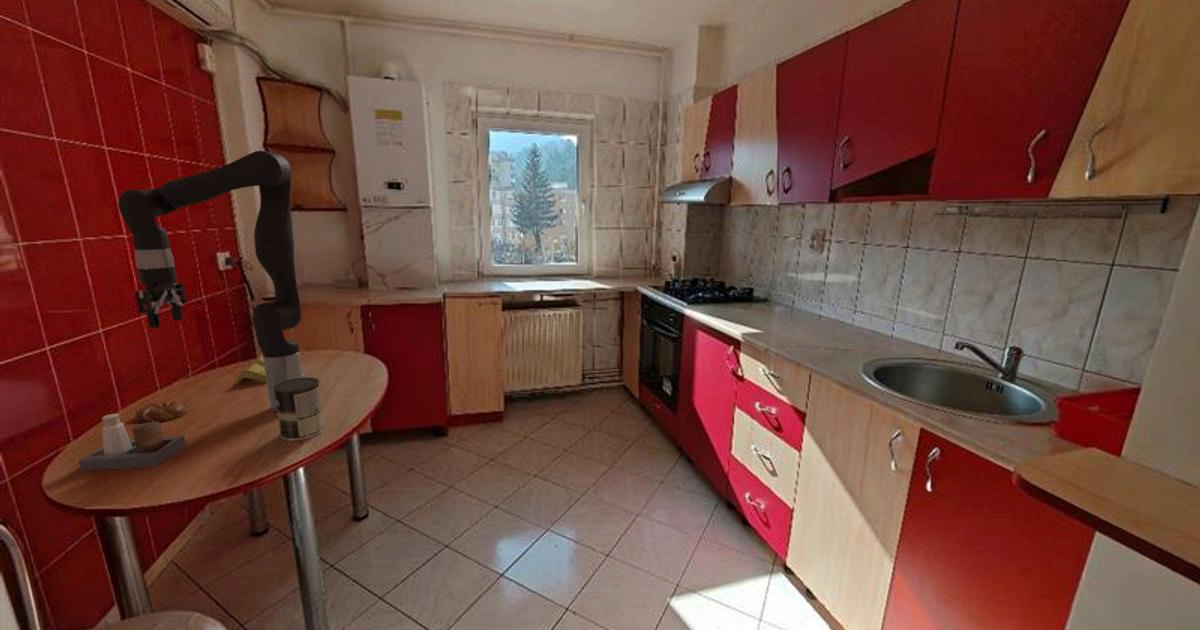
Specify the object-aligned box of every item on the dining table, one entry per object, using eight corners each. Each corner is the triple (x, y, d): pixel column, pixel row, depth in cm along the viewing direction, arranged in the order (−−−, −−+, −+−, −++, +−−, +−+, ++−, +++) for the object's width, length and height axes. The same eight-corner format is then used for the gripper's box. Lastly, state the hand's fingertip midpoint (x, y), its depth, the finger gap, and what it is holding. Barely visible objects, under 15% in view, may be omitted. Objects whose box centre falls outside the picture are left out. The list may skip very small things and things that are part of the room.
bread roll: (199, 410, 141) (197, 398, 140) (164, 426, 131) (162, 414, 130) (161, 408, 142) (159, 397, 141) (124, 424, 131) (121, 412, 130)
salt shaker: (129, 461, 110) (119, 418, 108) (98, 466, 108) (88, 422, 105) (140, 450, 115) (131, 409, 112) (110, 455, 113) (100, 413, 110)
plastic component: (272, 377, 162) (239, 367, 158) (264, 395, 163) (231, 386, 159) (289, 356, 180) (260, 347, 176) (282, 372, 181) (253, 364, 177)
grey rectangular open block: (186, 448, 118) (184, 435, 117) (156, 469, 108) (153, 455, 108) (118, 452, 116) (115, 439, 115) (81, 474, 106) (78, 460, 105)
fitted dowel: (171, 450, 115) (165, 421, 113) (156, 460, 110) (149, 430, 109) (149, 452, 114) (142, 422, 112) (133, 462, 110) (126, 431, 108)
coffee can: (276, 444, 121) (268, 393, 117) (285, 427, 130) (278, 380, 127) (322, 437, 125) (315, 387, 121) (327, 421, 134) (321, 375, 131)
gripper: (160, 263, 132) (170, 318, 136) (118, 269, 119) (131, 330, 122) (189, 262, 133) (199, 317, 137) (151, 268, 120) (163, 329, 123)
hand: (167, 323), depth 130 cm, fingers open, 8 cm apart
